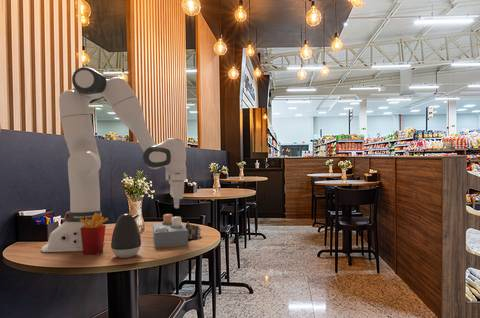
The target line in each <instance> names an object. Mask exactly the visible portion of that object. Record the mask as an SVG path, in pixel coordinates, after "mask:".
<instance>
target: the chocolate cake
mask: <svg viewBox="0 0 480 318" xmlns="http://www.w3.org/2000/svg"><path fill="white" fill-rule="evenodd" d="M185 227H186V229H187V230H188V240H189V239H190V240H196V241H198V240H199V239H201V238H202V236H201V234H202V233H201V230H202V228H200V225H193V224H190V223H189V221H188V220H187V222H186V224H185Z"/></svg>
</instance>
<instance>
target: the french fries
mask: <svg viewBox="0 0 480 318" xmlns="http://www.w3.org/2000/svg"><path fill="white" fill-rule="evenodd" d="M96 220H97V222H96ZM108 220H109V218H108V217H104V216H103V215H102V214H101V215H99V214H97V213H95V214H94V215H93V217H92V220H90V219H89V220H88V219H87V218H85V221H84V220H83V219H80V221H81V222H82V223H83V224H84V227H82V228H80V230H81V238H82V246H83V251H82V253H83V255H88V256H89V255H91V256H92V255H93V256H95V255H99V254H100V253H102V252H104V245H105V234H106V227H107V226H106V225H107V224H104V223H105V222H107V221H108ZM88 221H89V222H90V223H91V225H89V224H88V223H87V222H88ZM95 223H96V224H95Z"/></svg>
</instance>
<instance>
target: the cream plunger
mask: <svg viewBox="0 0 480 318" xmlns="http://www.w3.org/2000/svg"><path fill="white" fill-rule="evenodd" d="M181 222H182V217H181V216H172V228H180V227H181Z"/></svg>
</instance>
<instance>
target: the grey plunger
mask: <svg viewBox="0 0 480 318" xmlns="http://www.w3.org/2000/svg"><path fill="white" fill-rule="evenodd" d="M157 232H167V227H157Z"/></svg>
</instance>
